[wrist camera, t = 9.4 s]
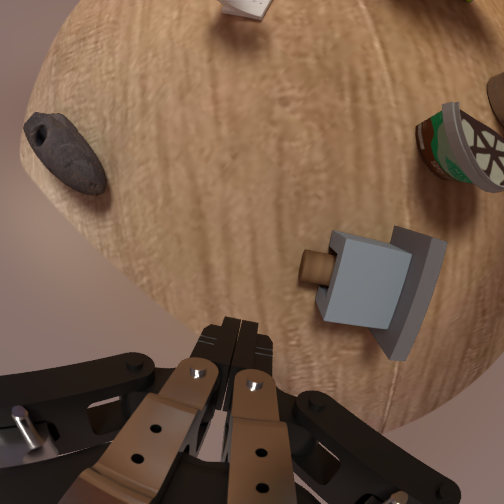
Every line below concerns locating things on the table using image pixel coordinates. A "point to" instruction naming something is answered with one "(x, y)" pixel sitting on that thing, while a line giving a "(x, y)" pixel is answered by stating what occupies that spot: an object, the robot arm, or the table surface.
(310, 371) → the table surface
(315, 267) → the dowel
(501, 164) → the ice cream tub
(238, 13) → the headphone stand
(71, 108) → the table surface
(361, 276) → the block
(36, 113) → the perforated stone tool
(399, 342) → the backstop wall
